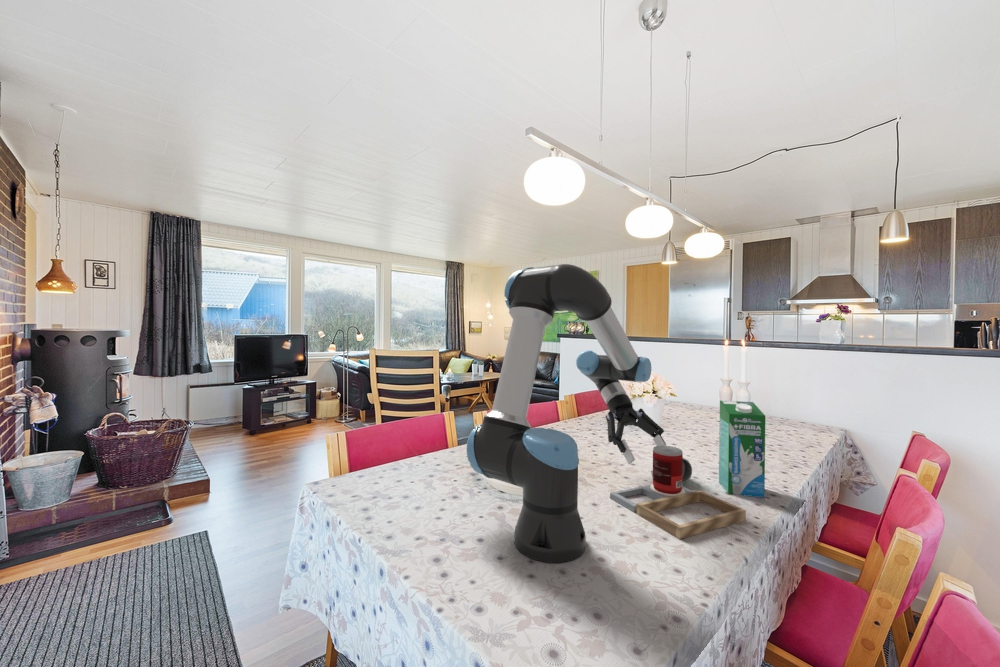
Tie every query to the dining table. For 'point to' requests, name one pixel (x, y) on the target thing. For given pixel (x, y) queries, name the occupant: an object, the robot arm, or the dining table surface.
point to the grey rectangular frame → (646, 490)
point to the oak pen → (696, 527)
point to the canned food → (667, 469)
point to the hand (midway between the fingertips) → (650, 459)
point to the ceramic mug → (684, 471)
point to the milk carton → (742, 448)
